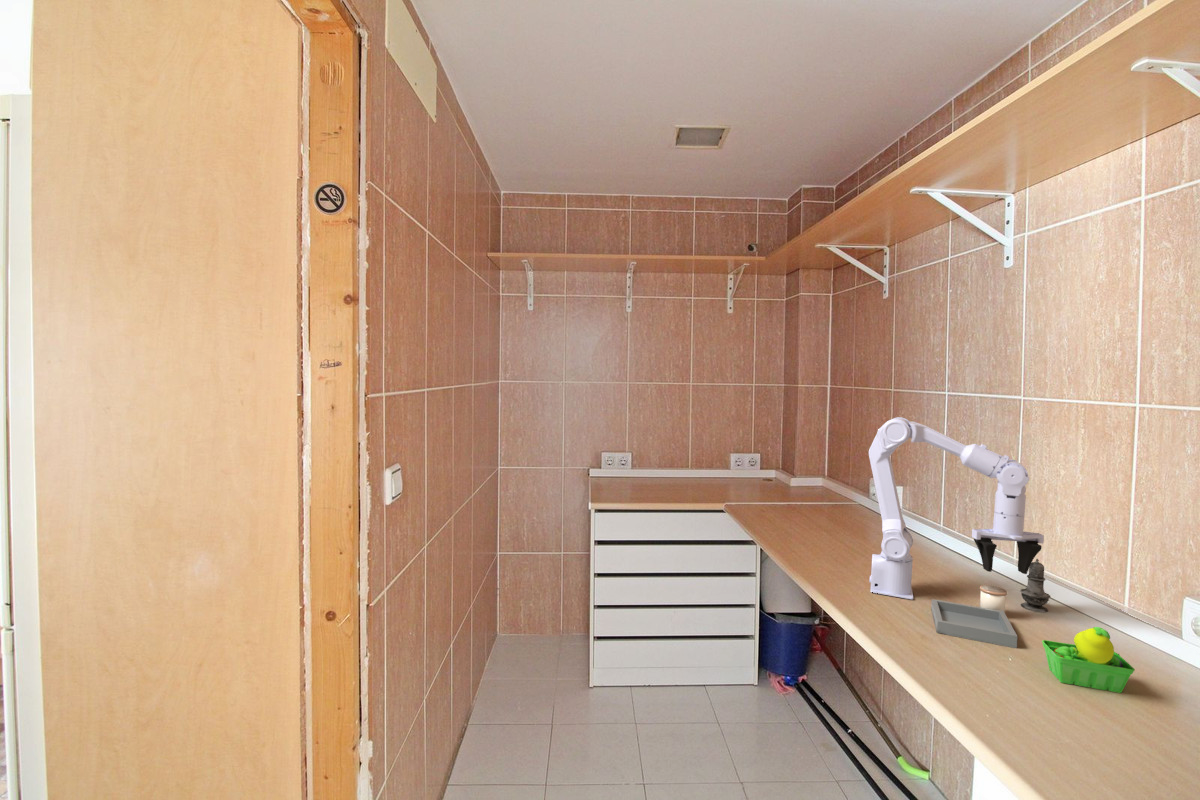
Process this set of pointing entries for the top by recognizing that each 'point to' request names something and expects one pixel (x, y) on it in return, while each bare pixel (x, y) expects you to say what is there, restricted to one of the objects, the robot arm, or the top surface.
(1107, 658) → the fruit basket
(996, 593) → the cup
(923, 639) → the top surface
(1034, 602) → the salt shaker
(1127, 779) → the top surface
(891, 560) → the robot arm
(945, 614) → the tray
